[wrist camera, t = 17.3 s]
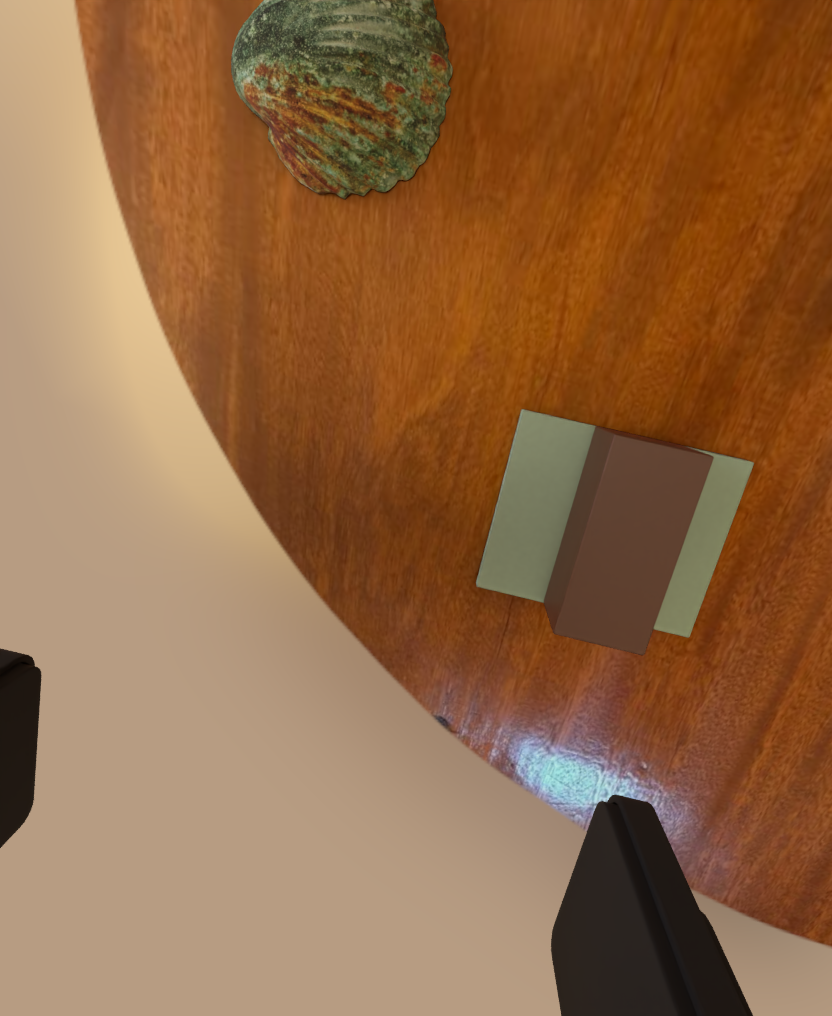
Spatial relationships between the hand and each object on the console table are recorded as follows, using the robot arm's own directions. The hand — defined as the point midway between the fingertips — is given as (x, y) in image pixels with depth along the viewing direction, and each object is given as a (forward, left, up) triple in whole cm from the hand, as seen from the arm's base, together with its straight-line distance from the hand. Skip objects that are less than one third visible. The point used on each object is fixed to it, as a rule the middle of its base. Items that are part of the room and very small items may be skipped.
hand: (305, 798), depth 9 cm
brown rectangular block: (+10, +1, -22) cm, 25 cm away
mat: (+10, +1, -23) cm, 25 cm away
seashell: (-8, +19, -23) cm, 31 cm away
